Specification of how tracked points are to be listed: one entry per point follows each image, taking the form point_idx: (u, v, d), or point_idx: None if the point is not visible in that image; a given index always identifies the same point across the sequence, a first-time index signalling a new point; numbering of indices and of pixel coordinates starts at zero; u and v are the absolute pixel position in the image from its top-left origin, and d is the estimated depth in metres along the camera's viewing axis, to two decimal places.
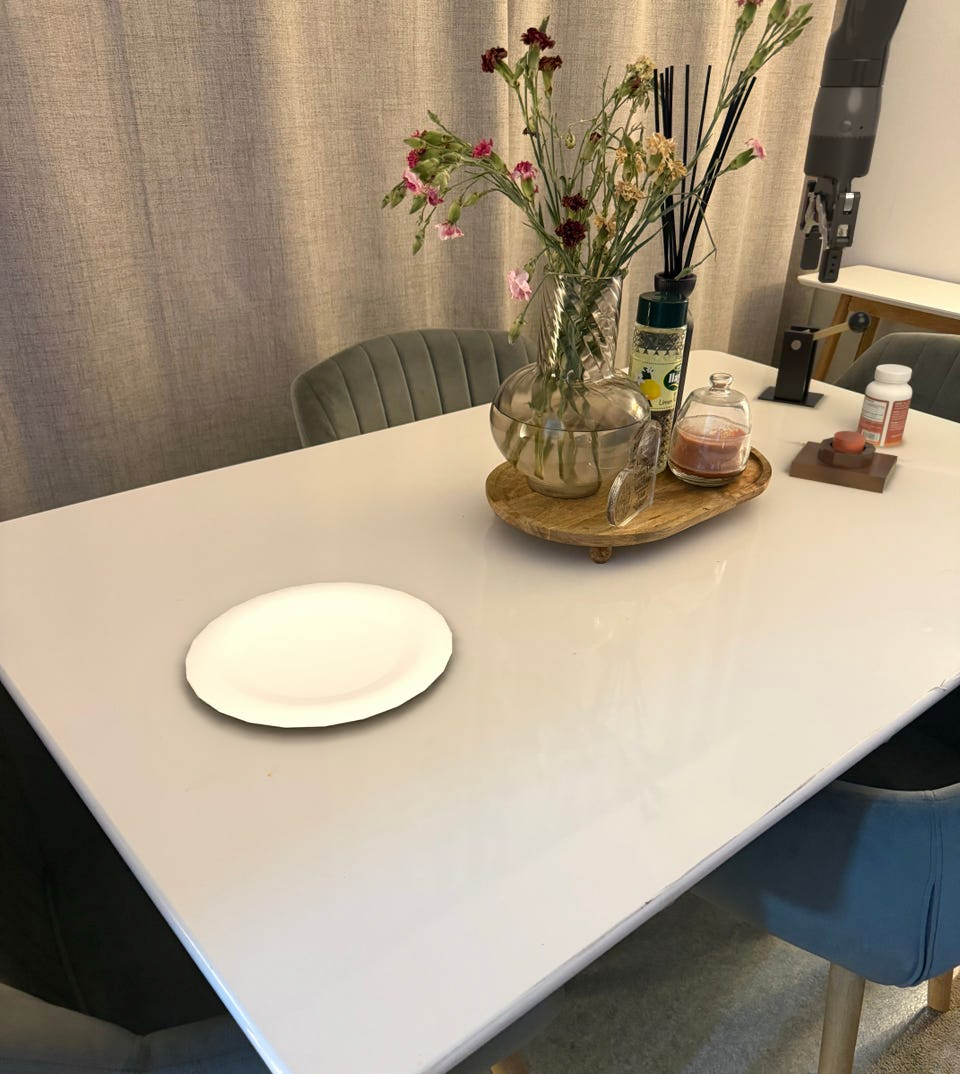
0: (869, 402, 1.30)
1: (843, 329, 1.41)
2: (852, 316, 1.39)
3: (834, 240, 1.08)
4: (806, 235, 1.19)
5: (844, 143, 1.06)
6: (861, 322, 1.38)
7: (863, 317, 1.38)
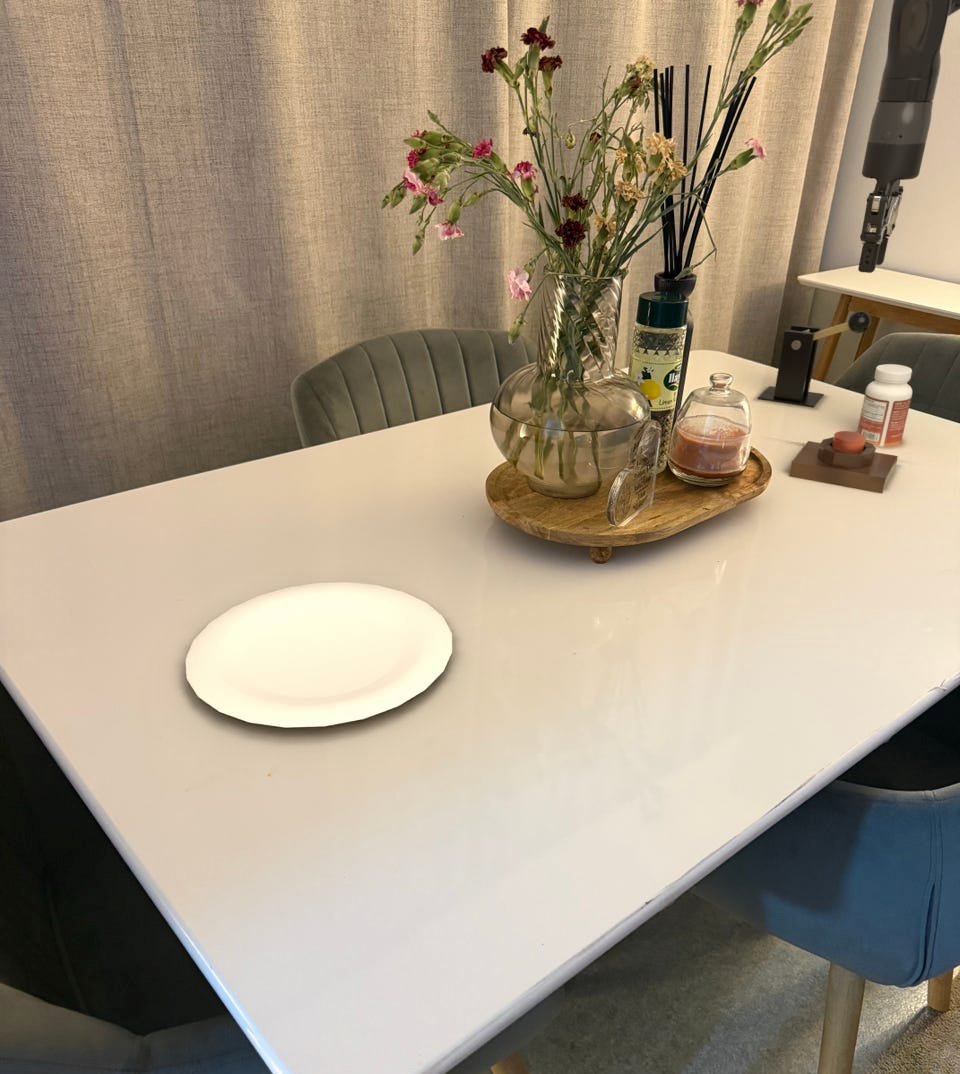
0: (869, 402, 1.30)
1: (843, 329, 1.41)
2: (852, 316, 1.39)
3: (863, 235, 1.28)
4: None
5: (885, 149, 1.25)
6: (861, 322, 1.38)
7: (863, 317, 1.38)
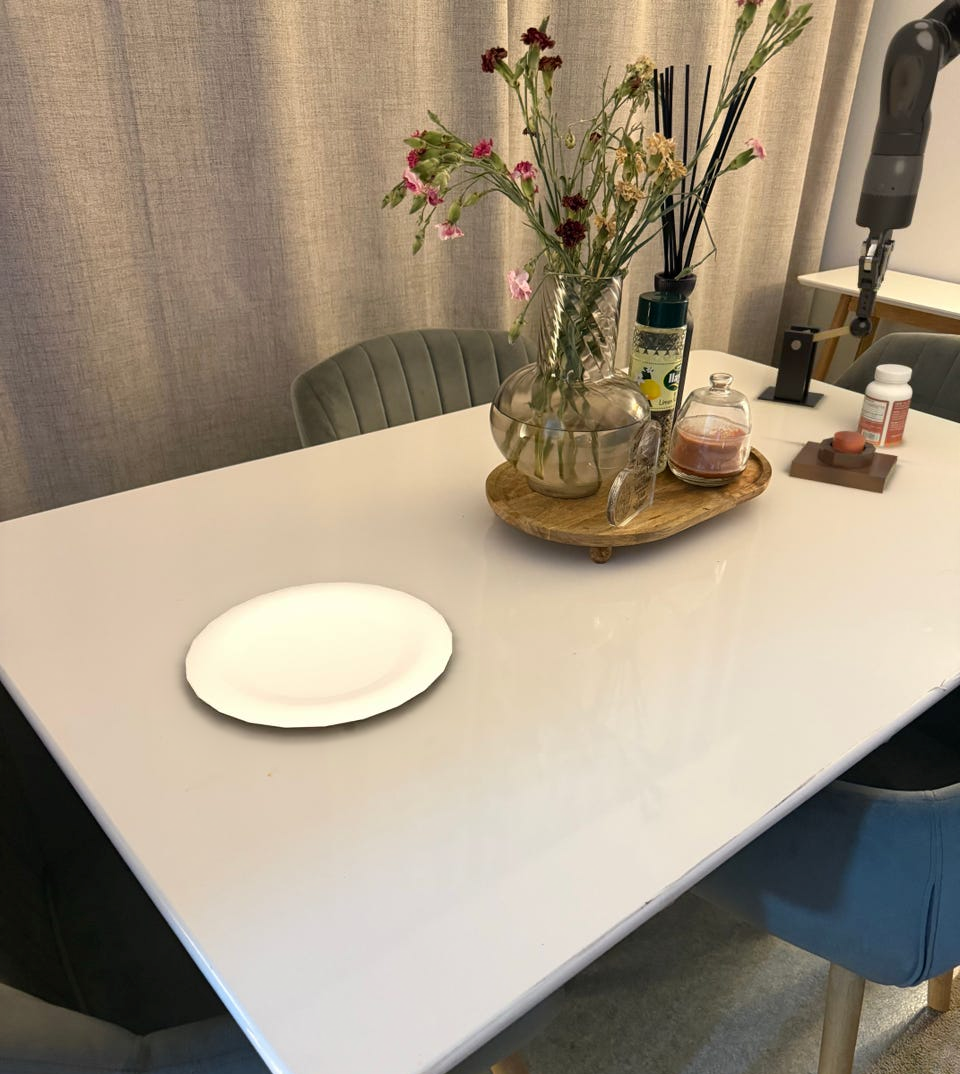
0: (869, 402, 1.30)
1: (844, 333, 1.41)
2: (854, 321, 1.39)
3: (860, 283, 1.34)
4: None
5: (877, 200, 1.28)
6: (862, 328, 1.38)
7: (865, 323, 1.38)
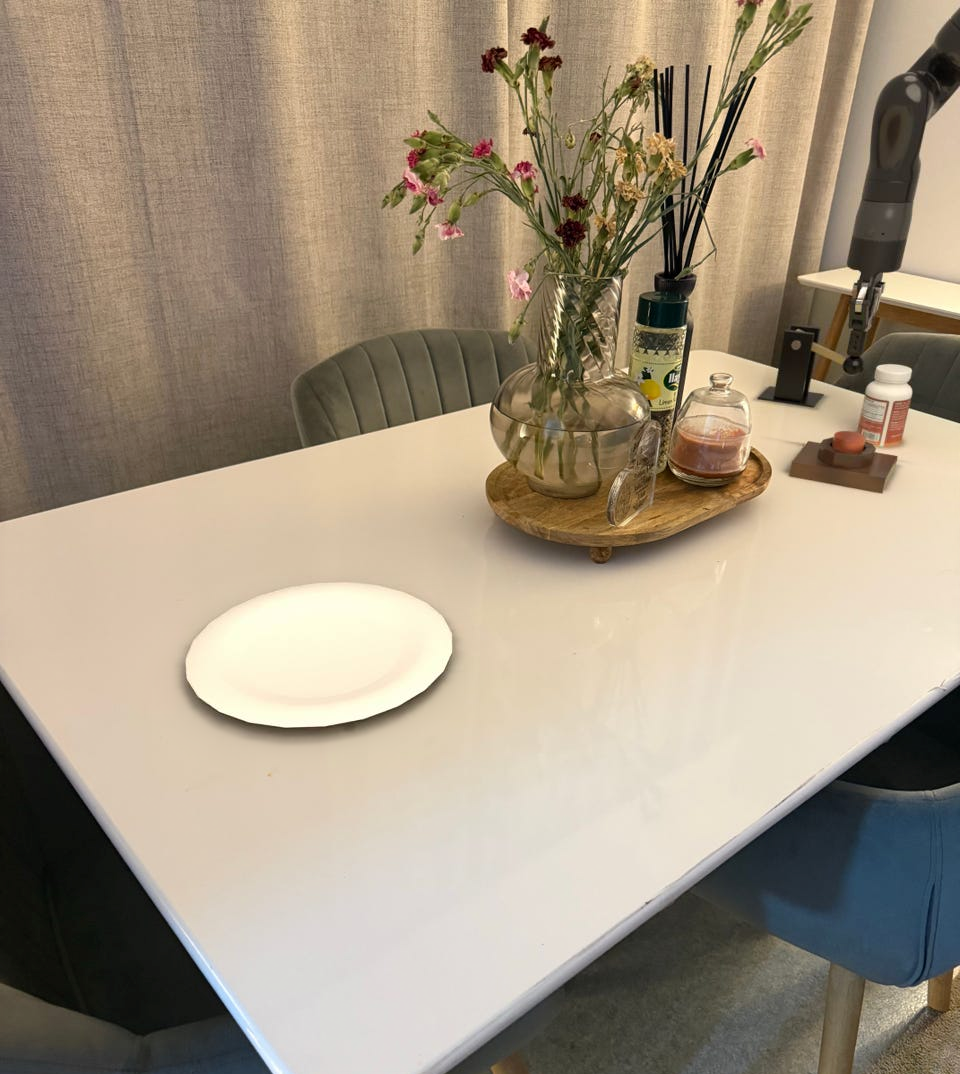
0: (869, 402, 1.30)
1: (838, 361, 1.43)
2: (852, 357, 1.42)
3: (851, 323, 1.37)
4: None
5: (868, 245, 1.31)
6: (855, 369, 1.42)
7: (859, 366, 1.41)
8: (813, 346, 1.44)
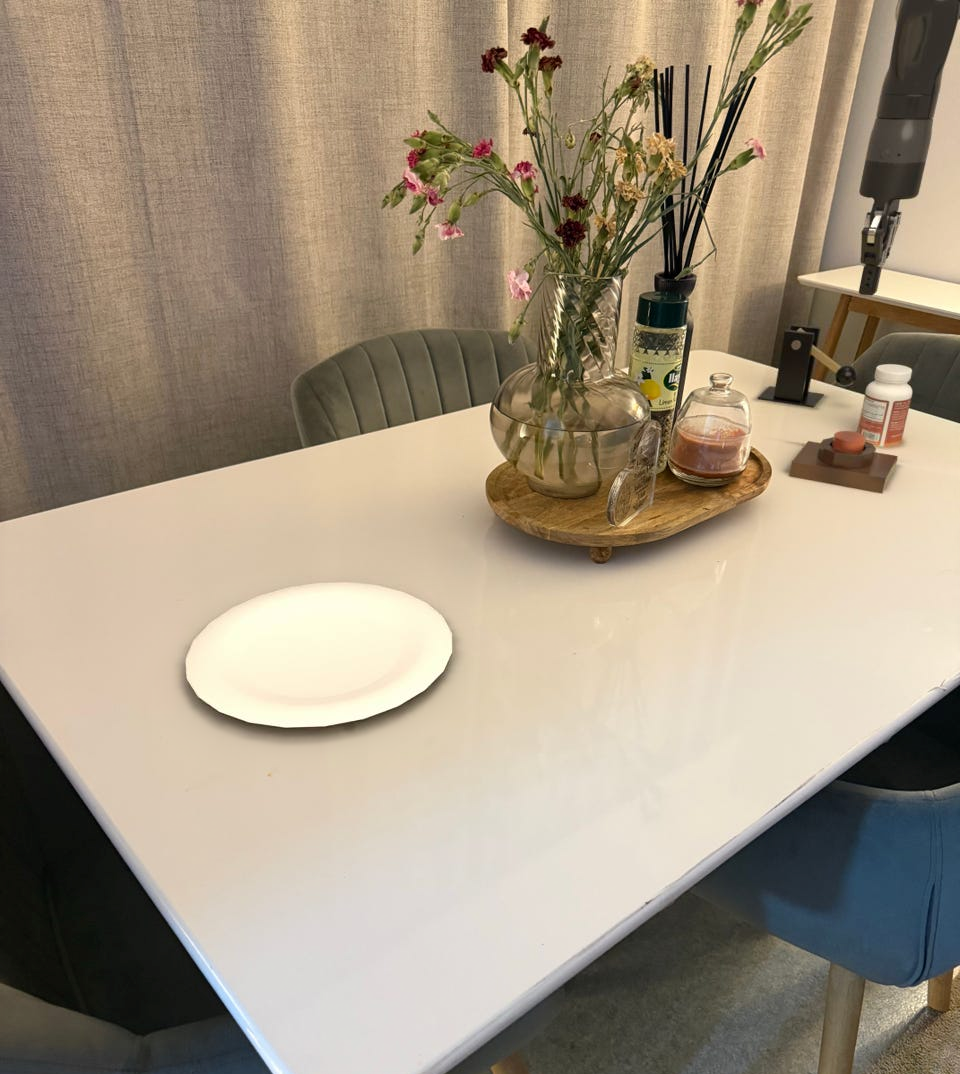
0: (869, 402, 1.30)
1: (832, 369, 1.44)
2: (847, 368, 1.43)
3: (863, 257, 1.26)
4: None
5: (882, 168, 1.20)
6: (847, 380, 1.43)
7: (852, 378, 1.43)
8: None
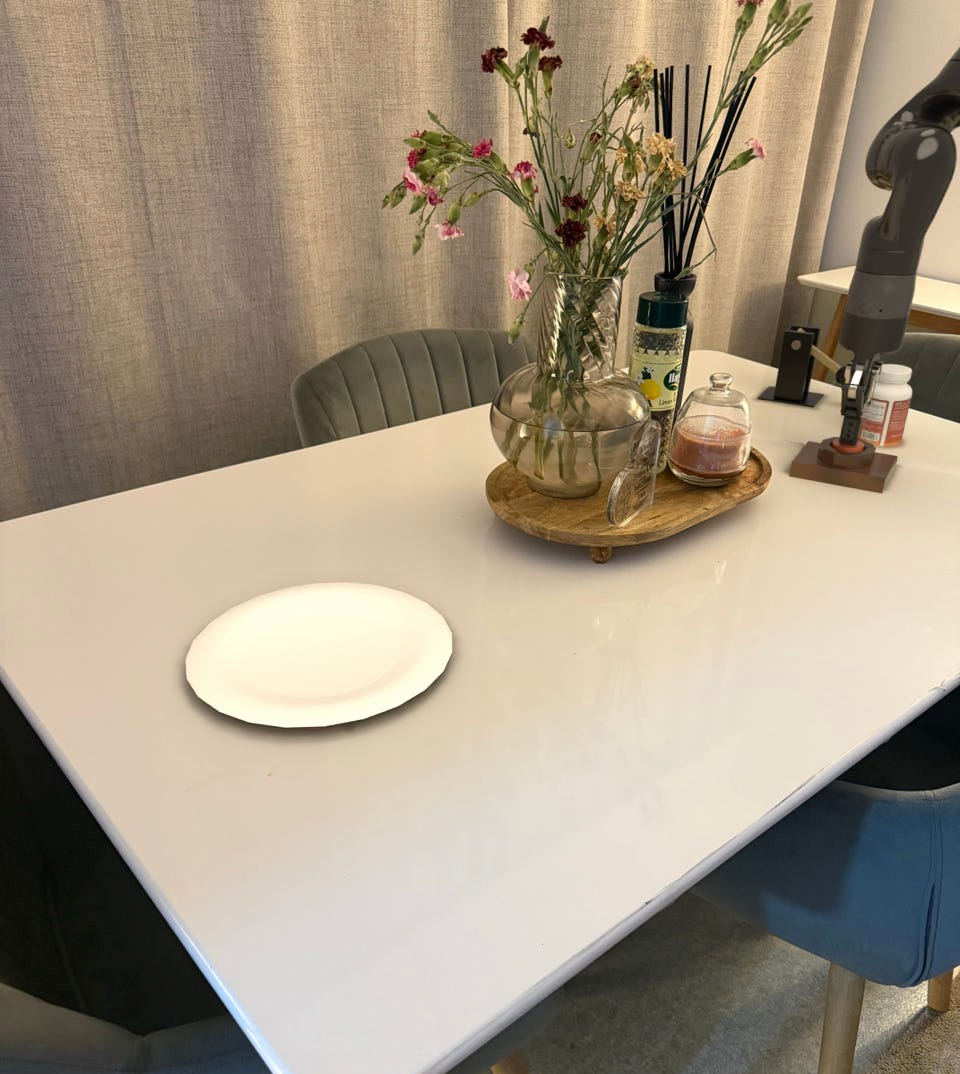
0: None
1: (832, 369, 1.44)
2: None
3: None
4: None
5: (863, 322, 1.11)
6: None
7: None
8: None
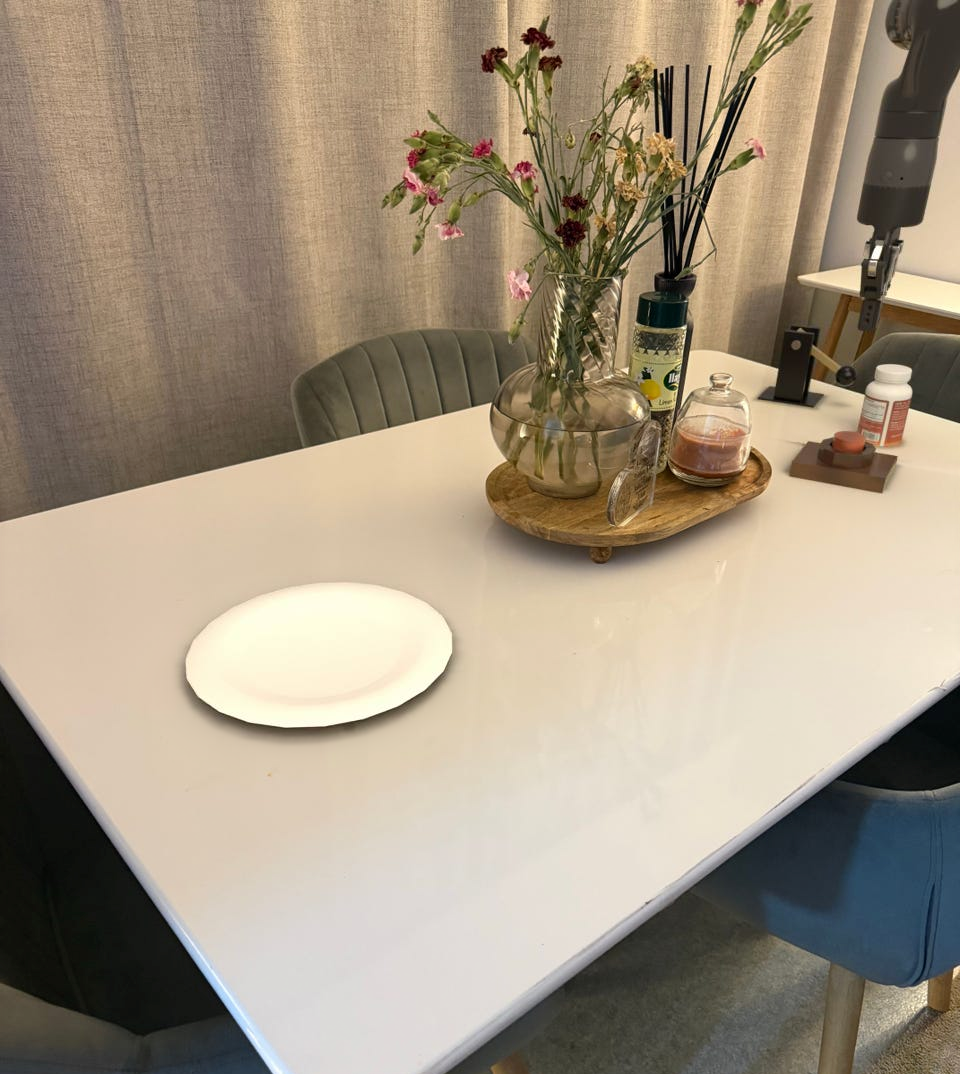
0: (869, 402, 1.30)
1: (832, 369, 1.44)
2: (847, 368, 1.43)
3: (862, 291, 1.13)
4: None
5: (883, 193, 1.07)
6: (847, 380, 1.43)
7: (852, 378, 1.43)
8: None
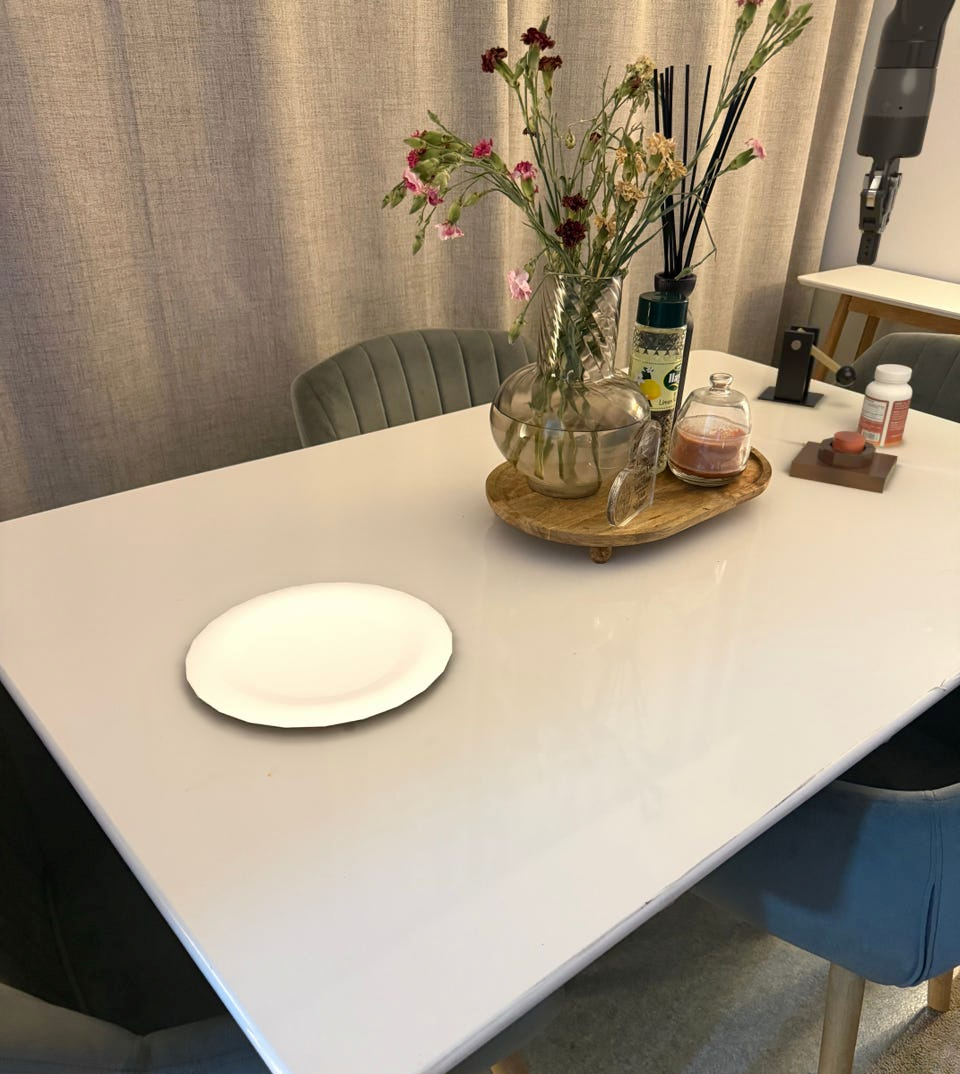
0: (869, 402, 1.30)
1: (832, 369, 1.44)
2: (847, 368, 1.43)
3: (861, 223, 1.16)
4: None
5: (882, 123, 1.09)
6: (847, 380, 1.43)
7: (852, 378, 1.43)
8: None
